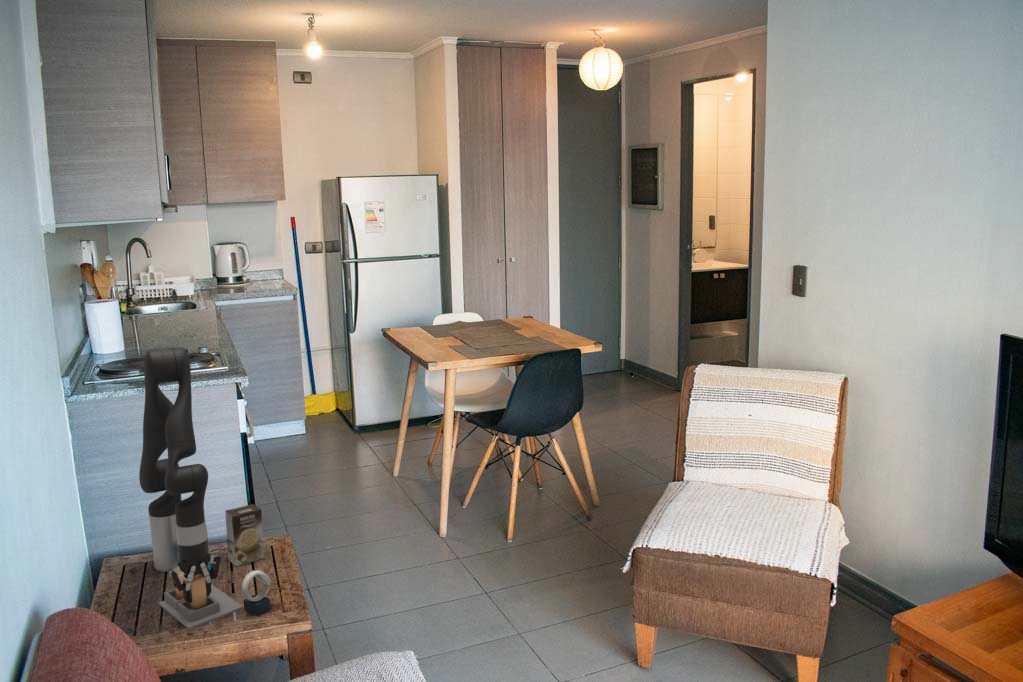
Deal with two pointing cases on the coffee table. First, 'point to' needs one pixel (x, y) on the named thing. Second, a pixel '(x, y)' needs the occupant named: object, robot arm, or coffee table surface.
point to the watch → (256, 602)
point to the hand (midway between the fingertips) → (197, 598)
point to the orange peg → (198, 592)
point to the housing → (192, 618)
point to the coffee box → (244, 534)
